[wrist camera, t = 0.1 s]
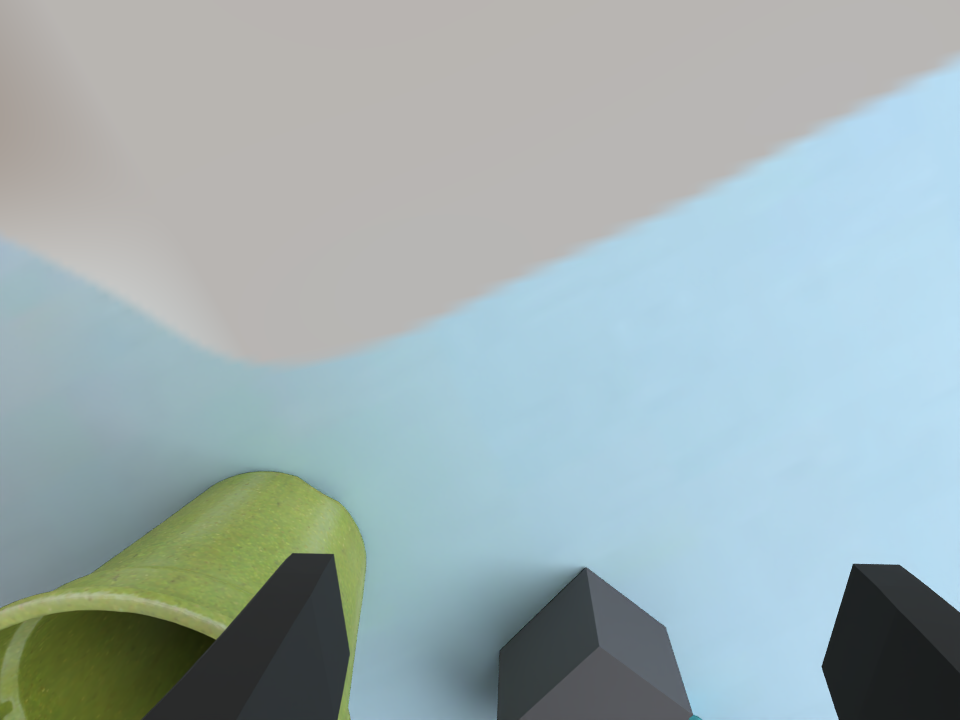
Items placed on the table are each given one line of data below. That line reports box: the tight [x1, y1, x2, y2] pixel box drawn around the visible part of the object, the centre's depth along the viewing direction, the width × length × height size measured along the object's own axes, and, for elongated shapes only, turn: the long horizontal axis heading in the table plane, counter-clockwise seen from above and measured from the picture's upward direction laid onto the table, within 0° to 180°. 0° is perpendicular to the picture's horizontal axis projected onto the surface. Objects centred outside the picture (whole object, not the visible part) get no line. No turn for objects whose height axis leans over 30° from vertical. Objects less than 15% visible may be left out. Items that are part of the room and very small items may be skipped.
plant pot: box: [0, 472, 366, 720], centre depth 18 cm, size 9×9×9 cm
